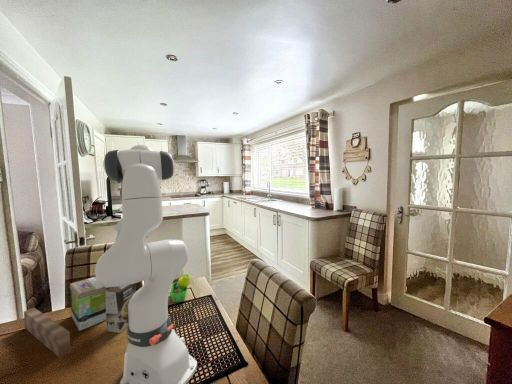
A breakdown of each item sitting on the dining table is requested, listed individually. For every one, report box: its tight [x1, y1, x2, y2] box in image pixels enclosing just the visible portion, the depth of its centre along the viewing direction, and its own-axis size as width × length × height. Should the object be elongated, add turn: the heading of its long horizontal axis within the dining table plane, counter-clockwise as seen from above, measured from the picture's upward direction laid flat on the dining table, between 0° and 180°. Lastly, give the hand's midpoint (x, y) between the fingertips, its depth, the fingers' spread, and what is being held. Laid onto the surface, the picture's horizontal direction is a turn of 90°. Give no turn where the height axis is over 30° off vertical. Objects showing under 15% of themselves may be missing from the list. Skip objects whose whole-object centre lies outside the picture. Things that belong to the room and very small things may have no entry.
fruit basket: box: [169, 273, 191, 303], centre depth 108 cm, size 11×9×11 cm
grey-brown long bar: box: [23, 307, 71, 358], centre depth 80 cm, size 30×3×7 cm, turn 62°
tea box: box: [69, 276, 108, 331], centre depth 92 cm, size 15×10×15 cm
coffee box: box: [105, 283, 137, 334], centre depth 88 cm, size 9×6×16 cm
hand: (124, 242), depth 106 cm, fingers open, 8 cm apart
